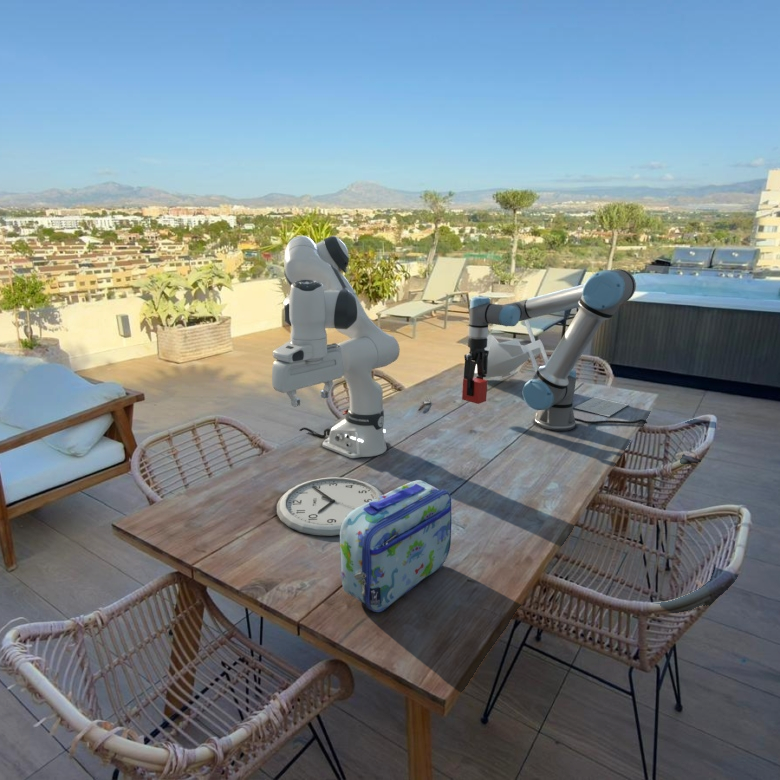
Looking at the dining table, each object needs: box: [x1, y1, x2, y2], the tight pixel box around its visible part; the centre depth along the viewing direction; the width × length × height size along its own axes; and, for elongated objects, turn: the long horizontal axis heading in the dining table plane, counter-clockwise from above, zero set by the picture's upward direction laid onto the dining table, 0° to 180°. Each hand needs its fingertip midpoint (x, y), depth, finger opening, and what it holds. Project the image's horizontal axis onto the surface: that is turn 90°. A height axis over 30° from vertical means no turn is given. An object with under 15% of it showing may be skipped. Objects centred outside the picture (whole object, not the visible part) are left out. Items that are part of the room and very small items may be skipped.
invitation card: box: [573, 396, 629, 418], centre depth 226 cm, size 21×1×15 cm
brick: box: [461, 377, 488, 405], centre depth 210 cm, size 5×8×9 cm
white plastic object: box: [474, 319, 549, 379], centre depth 255 cm, size 37×45×31 cm
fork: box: [418, 396, 432, 411], centre depth 223 cm, size 3×16×2 cm, turn 160°
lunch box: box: [339, 479, 452, 613], centre depth 109 cm, size 26×11×21 cm, turn 134°
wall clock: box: [276, 476, 385, 537], centre depth 142 cm, size 30×2×30 cm
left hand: (310, 401), depth 132 cm, fingers open, 8 cm apart
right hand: (474, 393), depth 211 cm, fingers closed on brick, 5 cm apart
